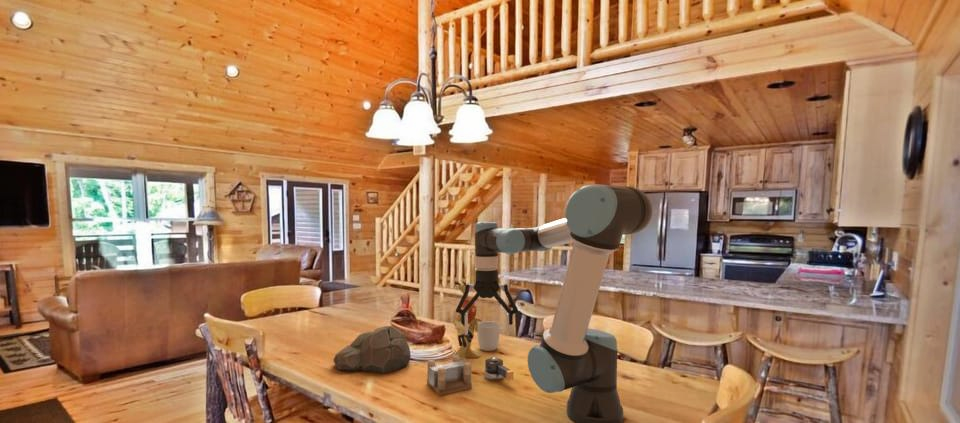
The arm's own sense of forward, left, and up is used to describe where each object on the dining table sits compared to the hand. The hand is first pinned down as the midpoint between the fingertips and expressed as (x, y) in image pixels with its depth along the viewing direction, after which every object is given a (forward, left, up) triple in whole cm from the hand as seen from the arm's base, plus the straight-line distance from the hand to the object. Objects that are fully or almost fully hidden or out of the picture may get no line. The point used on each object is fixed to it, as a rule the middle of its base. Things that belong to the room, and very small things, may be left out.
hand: (487, 334), depth 136 cm
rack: (+4, +12, -16) cm, 20 cm away
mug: (+30, -20, -16) cm, 40 cm away
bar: (+4, +12, -15) cm, 19 cm away
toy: (+19, -3, -16) cm, 25 cm away
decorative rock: (+35, +26, -16) cm, 47 cm away
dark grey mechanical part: (0, -5, -14) cm, 15 cm away
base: (+3, -5, -16) cm, 17 cm away
